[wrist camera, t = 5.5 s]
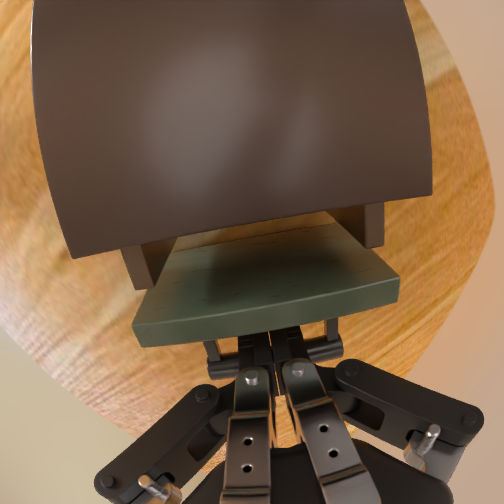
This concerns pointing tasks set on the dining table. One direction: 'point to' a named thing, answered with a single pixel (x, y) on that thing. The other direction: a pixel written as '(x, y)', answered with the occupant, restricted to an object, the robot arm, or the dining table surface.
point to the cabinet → (223, 113)
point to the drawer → (262, 286)
